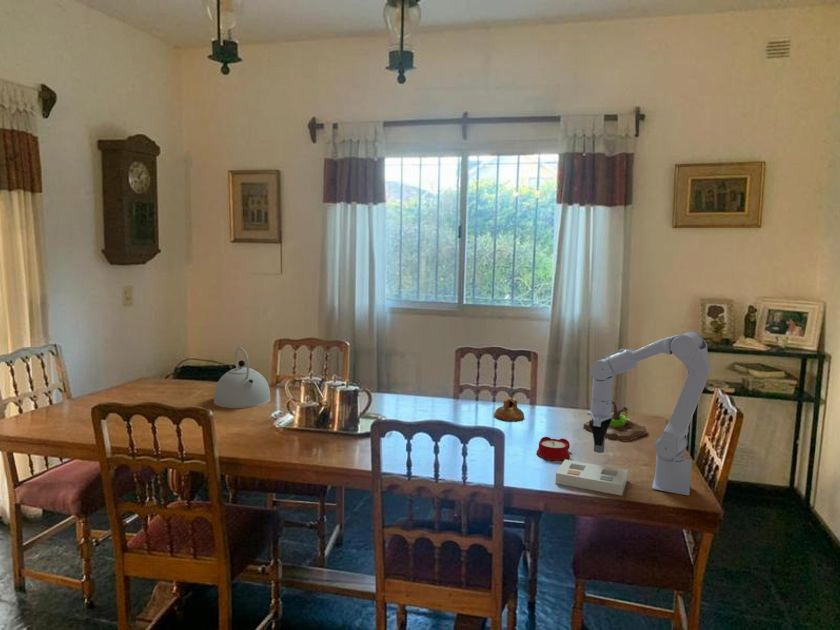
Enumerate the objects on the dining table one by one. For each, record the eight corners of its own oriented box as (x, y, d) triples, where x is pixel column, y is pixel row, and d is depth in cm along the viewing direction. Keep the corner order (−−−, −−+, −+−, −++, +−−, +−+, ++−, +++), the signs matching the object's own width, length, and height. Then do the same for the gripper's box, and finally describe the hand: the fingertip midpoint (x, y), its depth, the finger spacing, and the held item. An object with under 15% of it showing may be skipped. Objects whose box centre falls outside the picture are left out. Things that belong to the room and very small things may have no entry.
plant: (609, 420, 232) (611, 392, 231) (654, 434, 216) (656, 404, 215) (574, 429, 221) (576, 399, 219) (619, 444, 205) (621, 412, 204)
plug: (604, 450, 181) (606, 422, 180) (603, 453, 179) (604, 425, 178) (594, 448, 183) (596, 421, 182) (593, 451, 180) (594, 424, 179)
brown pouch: (523, 413, 239) (523, 395, 238) (524, 422, 227) (525, 404, 226) (493, 412, 240) (494, 394, 239) (493, 421, 228) (494, 402, 228)
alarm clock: (534, 449, 188) (539, 425, 201) (534, 466, 190) (539, 441, 203) (569, 453, 185) (571, 428, 198) (568, 470, 187) (571, 444, 200)
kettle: (279, 405, 245) (279, 350, 242) (223, 412, 233) (221, 355, 230) (260, 391, 266) (259, 341, 263) (207, 398, 254) (206, 345, 251)
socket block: (627, 480, 173) (627, 469, 173) (621, 495, 162) (622, 484, 162) (564, 469, 181) (564, 458, 180) (555, 483, 170) (556, 472, 170)
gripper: (592, 392, 187) (589, 434, 189) (583, 403, 174) (581, 448, 176) (615, 395, 184) (613, 437, 186) (608, 406, 171) (606, 452, 173)
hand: (599, 443), depth 180 cm, fingers closed on plug, 3 cm apart
